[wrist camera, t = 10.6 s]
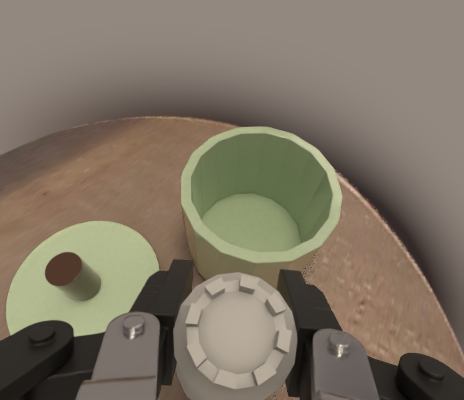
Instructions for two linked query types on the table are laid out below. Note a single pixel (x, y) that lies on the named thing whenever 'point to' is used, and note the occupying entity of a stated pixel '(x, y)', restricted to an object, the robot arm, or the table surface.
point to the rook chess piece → (234, 339)
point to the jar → (257, 203)
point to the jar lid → (81, 277)
